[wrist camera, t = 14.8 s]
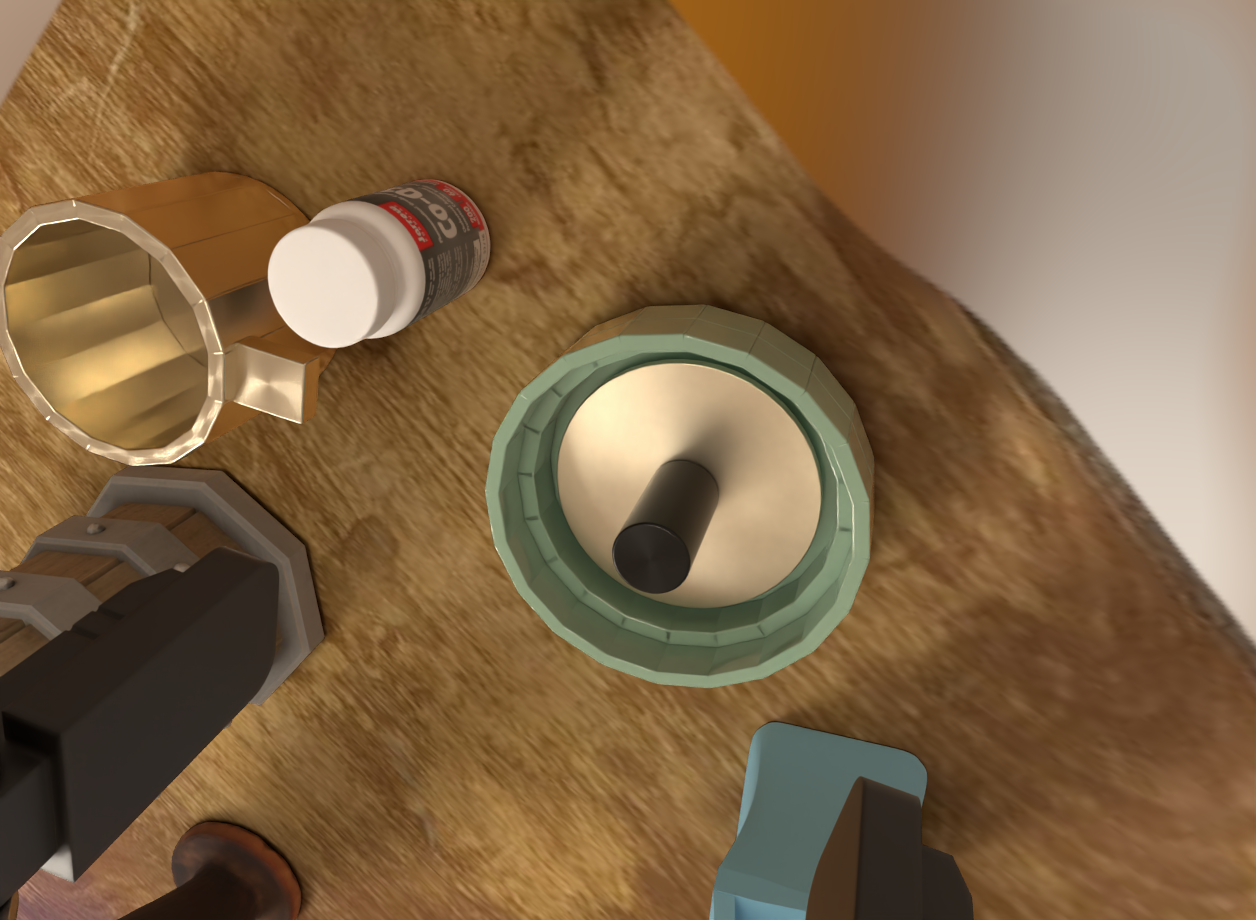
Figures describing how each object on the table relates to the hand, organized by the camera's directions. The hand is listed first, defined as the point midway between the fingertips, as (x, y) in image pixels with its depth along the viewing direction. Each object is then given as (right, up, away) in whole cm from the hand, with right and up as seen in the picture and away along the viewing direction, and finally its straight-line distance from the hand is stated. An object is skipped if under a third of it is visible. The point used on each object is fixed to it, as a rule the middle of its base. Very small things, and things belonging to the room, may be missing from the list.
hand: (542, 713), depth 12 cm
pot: (-16, +11, +29) cm, 35 cm away
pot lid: (+4, +2, +26) cm, 26 cm away
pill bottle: (-6, +12, +26) cm, 29 cm away
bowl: (+4, +3, +27) cm, 27 cm away
